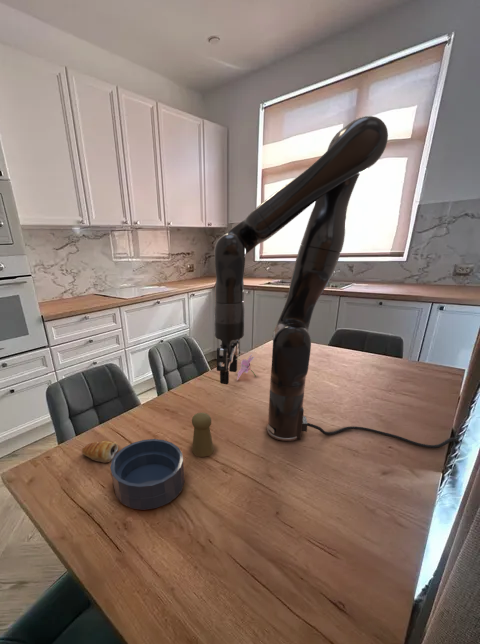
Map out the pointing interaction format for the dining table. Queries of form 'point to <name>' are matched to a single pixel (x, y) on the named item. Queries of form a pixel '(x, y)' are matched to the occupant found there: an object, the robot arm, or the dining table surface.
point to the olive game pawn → (202, 435)
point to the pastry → (101, 451)
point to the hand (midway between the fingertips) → (229, 377)
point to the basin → (148, 474)
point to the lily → (245, 366)
